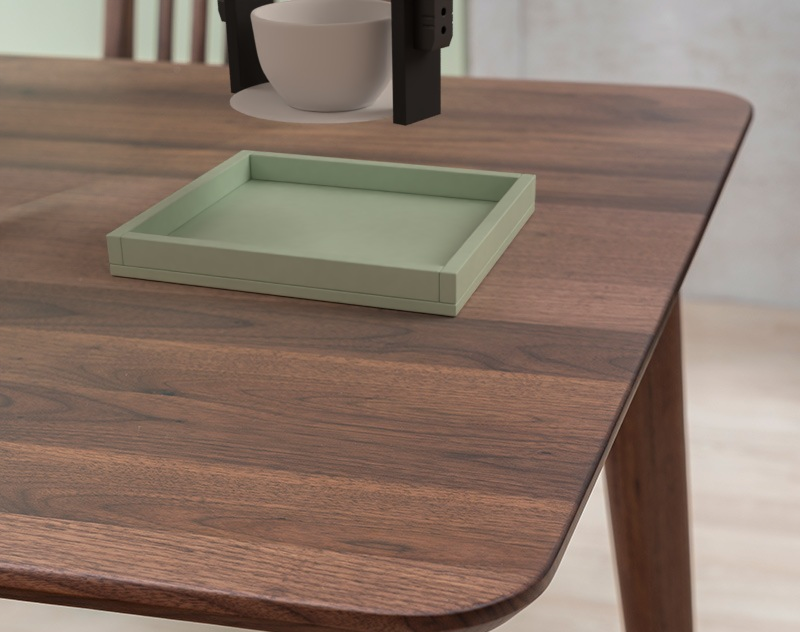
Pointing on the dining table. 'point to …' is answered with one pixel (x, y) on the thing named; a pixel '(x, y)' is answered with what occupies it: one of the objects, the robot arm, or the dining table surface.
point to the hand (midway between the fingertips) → (332, 103)
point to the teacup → (321, 62)
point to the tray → (330, 230)
